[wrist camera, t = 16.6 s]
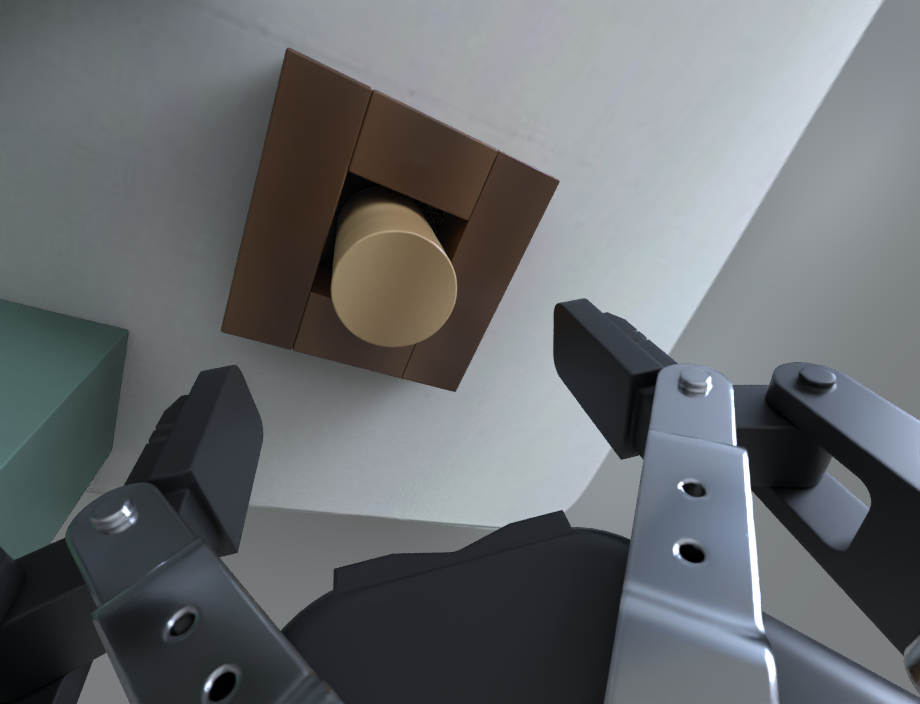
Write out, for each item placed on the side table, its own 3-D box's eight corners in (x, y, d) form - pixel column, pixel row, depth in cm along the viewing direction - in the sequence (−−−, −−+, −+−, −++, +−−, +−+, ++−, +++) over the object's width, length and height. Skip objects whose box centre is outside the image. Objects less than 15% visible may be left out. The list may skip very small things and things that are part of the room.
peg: (325, 257, 23) (315, 329, 16) (352, 170, 21) (354, 209, 14) (408, 285, 24) (430, 361, 18) (439, 206, 23) (477, 257, 16)
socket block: (239, 296, 23) (220, 332, 19) (298, 54, 18) (286, 46, 15) (442, 354, 27) (455, 392, 23) (529, 167, 23) (560, 180, 19)
